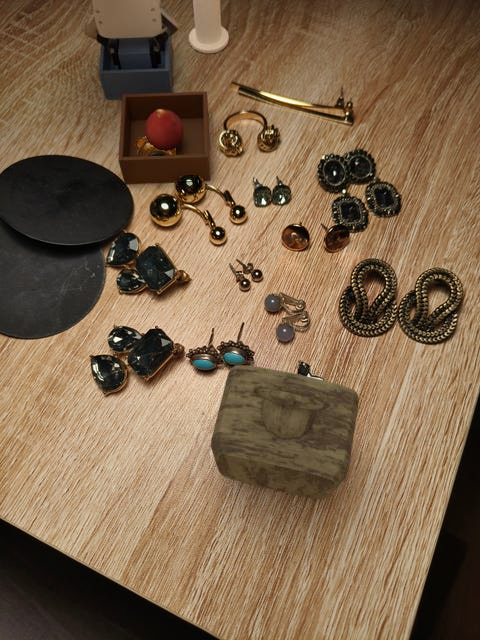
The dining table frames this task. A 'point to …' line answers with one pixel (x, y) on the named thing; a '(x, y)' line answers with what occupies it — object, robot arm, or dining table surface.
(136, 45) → the blue block
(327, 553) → the dining table surface
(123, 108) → the brown bin
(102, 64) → the blue bin
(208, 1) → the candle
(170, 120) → the onion
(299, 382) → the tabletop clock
